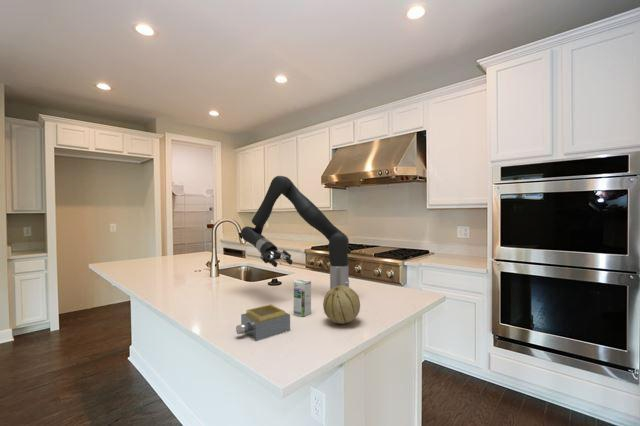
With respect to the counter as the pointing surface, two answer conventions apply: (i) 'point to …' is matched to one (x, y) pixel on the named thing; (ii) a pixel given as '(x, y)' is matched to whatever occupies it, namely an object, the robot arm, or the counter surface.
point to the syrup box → (302, 297)
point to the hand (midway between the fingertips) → (284, 264)
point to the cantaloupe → (341, 304)
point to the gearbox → (264, 322)
